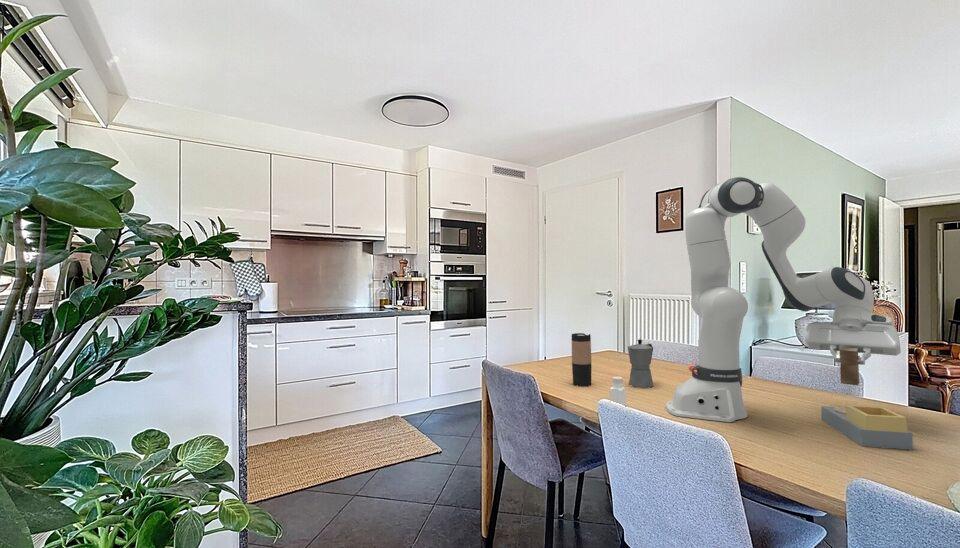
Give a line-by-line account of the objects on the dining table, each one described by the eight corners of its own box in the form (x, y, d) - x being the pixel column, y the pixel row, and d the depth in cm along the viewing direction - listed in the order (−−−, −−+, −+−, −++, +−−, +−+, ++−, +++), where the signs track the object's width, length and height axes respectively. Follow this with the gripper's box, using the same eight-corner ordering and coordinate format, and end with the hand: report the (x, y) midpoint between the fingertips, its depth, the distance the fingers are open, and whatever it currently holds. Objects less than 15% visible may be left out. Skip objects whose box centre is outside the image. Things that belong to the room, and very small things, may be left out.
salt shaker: (614, 404, 142) (613, 375, 143) (626, 406, 140) (625, 377, 140) (609, 407, 139) (609, 377, 139) (621, 409, 137) (621, 379, 137)
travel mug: (572, 386, 167) (571, 335, 167) (571, 381, 174) (570, 333, 175) (592, 386, 166) (591, 335, 166) (591, 382, 173) (589, 333, 174)
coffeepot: (642, 390, 159) (641, 342, 159) (620, 385, 166) (619, 339, 167) (664, 383, 168) (662, 338, 169) (642, 379, 176) (641, 336, 176)
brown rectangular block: (840, 383, 117) (839, 347, 117) (842, 381, 120) (841, 345, 120) (858, 385, 115) (856, 348, 115) (859, 383, 117) (858, 346, 117)
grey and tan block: (861, 446, 104) (860, 415, 104) (821, 420, 123) (820, 393, 123) (912, 449, 101) (911, 418, 101) (863, 422, 120) (862, 395, 120)
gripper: (805, 315, 130) (800, 351, 123) (899, 318, 115) (899, 359, 108) (809, 328, 133) (804, 364, 126) (901, 333, 118) (901, 374, 111)
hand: (848, 362), depth 117 cm, fingers closed on brown rectangular block, 3 cm apart
